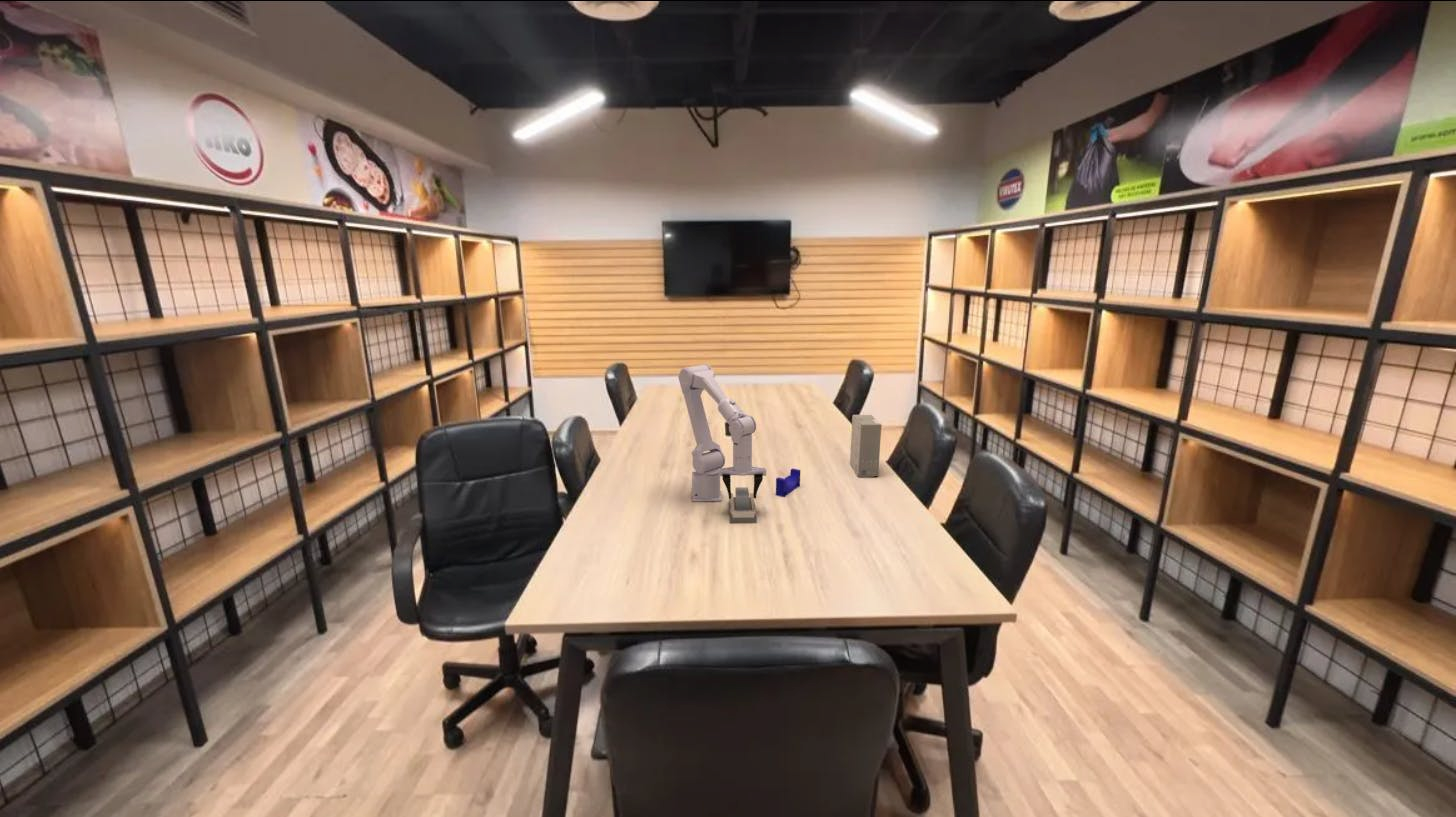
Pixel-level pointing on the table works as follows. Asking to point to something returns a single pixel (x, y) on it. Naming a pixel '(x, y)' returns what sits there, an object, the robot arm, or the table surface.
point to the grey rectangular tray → (742, 511)
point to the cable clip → (788, 483)
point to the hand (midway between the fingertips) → (742, 497)
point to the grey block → (742, 498)
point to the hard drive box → (865, 445)
